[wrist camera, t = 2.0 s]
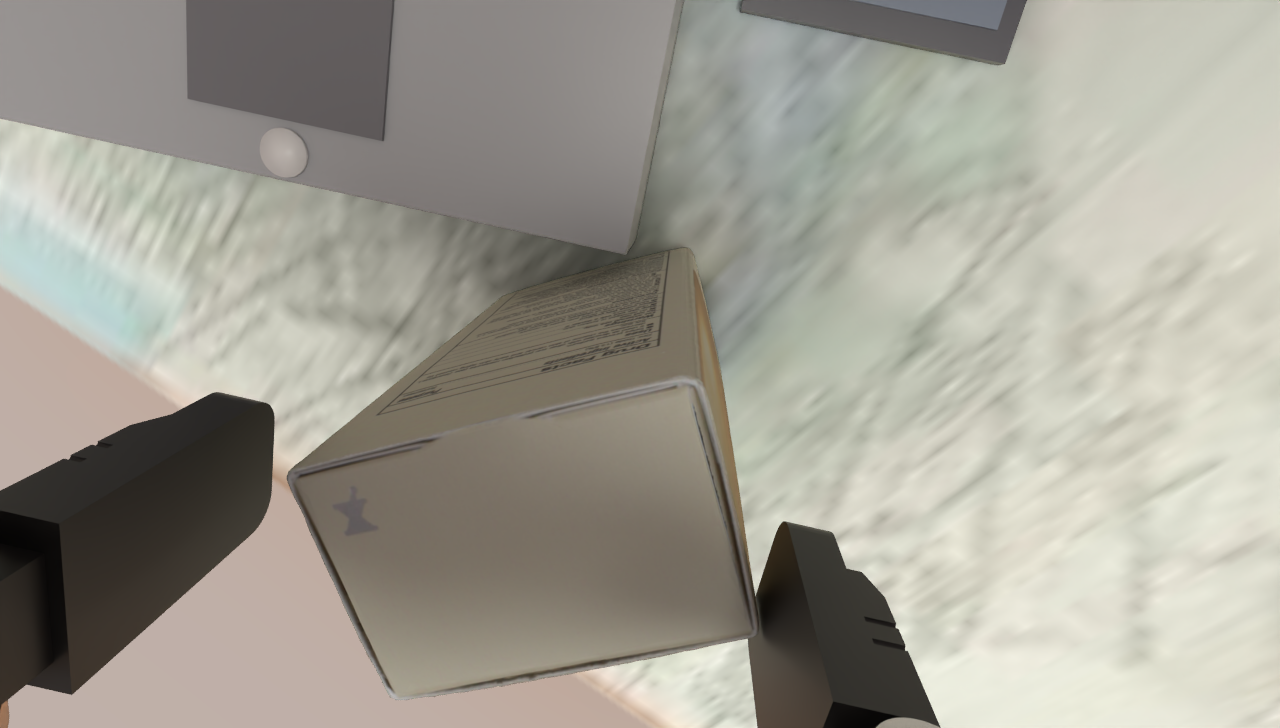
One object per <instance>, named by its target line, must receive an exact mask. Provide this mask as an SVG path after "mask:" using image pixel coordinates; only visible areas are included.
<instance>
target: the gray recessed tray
mask: <svg viewBox="0 0 1280 728" xmlns="http://www.w3.org/2000/svg"><path fill="white" fill-rule="evenodd" d="M683 3H684V0H0V119H5V120H10V121H14V122H19V123H23V124H28V125H33V126H37V127H42V128H46V129H51V130H55V131H60V132H65V133H69V134H74V135H78V136H83V137H88V138H92V139H97V140H101V141H106V142H110V143H115V144H120V145H124V146H129V147H133V148H138V149H143V150H147V151H152V152H156V153H161V154H165V155H170V156H175V157H179V158H184V159H188V160H193V161H198V162H202V163H207V164H211V165H216V166H220V167H225V168H230V169H234V170H239V171H243V172H248V173H253V174H257V175H262V176H266V177H271V178H275V179H280V180H285V181H289V182H294V183H298V184H303V185H308V186H312V187H317V188H321V189H326V190H330V191H335V192H340V193H344V194H349V195H353V196H358V197H363V198H367V199H372V200H376V201H381V202H385V203H390V204H395V205H399V206H404V207H408V208H413V209H418V210H422V211H427V212H431V213H436V214H440V215H445V216H450V217H454V218H459V219H463V220H468V221H473V222H477V223H482V224H486V225H491V226H495V227H500V228H505V229H509V230H514V231H518V232H523V233H528V234H532V235H537V236H541V237H546V238H551V239H555V240H560V241H564V242H569V243H573V244H578V245H583V246H587V247H592V248H596V249H601V250H606V251H610V252H615V253H619V254H624V255H626V254H627V252H628V251H629V249H630V248H631V246H632V245H633V243H634V242H635V240H636V237H637V232H638V227H639V222H640V217H641V212H642V207H643V202H644V197H645V193H646V188H647V183H648V178H649V173H650V168H651V163H652V158H653V153H654V148H655V143H656V138H657V133H658V128H659V123H660V118H661V113H662V108H663V103H664V98H665V93H666V88H667V83H668V78H669V73H670V68H671V63H672V58H673V53H674V48H675V43H676V38H677V33H678V28H679V23H680V18H681V13H682V8H683Z"/></svg>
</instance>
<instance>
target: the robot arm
mask: <svg viewBox="0 0 1280 728" xmlns="http://www.w3.org/2000/svg"><path fill="white" fill-rule="evenodd" d="M273 445H274V413H273V410H272V408H271V406H270V405H269V404H267V403H264V402H260V401H255V400H251V399H246V398H242V397H238V396H233V395H229V394H224V393H219V392H216V393H212V394H210V395H208V396H206V397H204V398H202V399H200V400H198V401H196V402H194V403H192V404H190V405H189V406H187V407H185V408H183V409H181V410H179V411H177V412H176V413H173V414H171V415H168V416H163V417H160V418H156V419H152V420H148V421H144V422H141V423H137V424H133V425H130V426H128V427H126V428H124V429H122V430H120V431H118V432H116V433H114V434H112V435H110V436H108V437H106V438H104V439H102V440H100V441H98V444H97V445H96V446H95V445H90V446H88V447H86V448H84V449H82V450H80V451H78V452H76V453H74V454H72V455H71V457H70V459H69V460H67V459H62V460H60V461H58V462H57V463H55V464H53V465H51V466H49V467H46V468H45V469H43V470H41V471H39V472H37V473H35V474H33V475H31V476H29V477H27V478H25V479H23V480H21V481H19V482H17V483H15V484H13V485H11V486H9V487H7V488H5V489H3V490H1V491H0V728H8V724H9V706H8V699H9V698H10V697H11V696H13V695H14V694H15V693H16V692H18V691H19V690H20V689H21V688H23V687H24V686H25V685H26V684H27V685H31V686H36V687H40V688H44V689H49V690H53V691H58V692H62V693H67V694H71V695H72V694H73V693H74V692H76V690H78V689H79V688H80V687H81V686H82V685H83V684H84V683H86V682H87V681H88V680H89V679H90V678H91V677H92V676H93V675H94V674H95V673H97V672H98V671H99V670H100V669H101V668H102V667H103V666H105V665H106V664H107V663H108V662H109V661H110V660H111V659H112V658H113V657H114V656H116V655H117V654H118V653H119V652H120V651H121V650H123V649H124V647H126V646H127V645H128V644H129V643H130V642H131V641H133V639H135V638H136V637H137V636H138V635H139V634H140V633H142V632H143V631H144V630H145V629H146V628H147V627H148V626H149V625H150V624H152V623H153V622H154V621H155V620H156V619H157V618H158V617H159V616H160V615H162V614H163V613H164V612H165V611H166V610H167V609H168V608H170V607H171V606H172V605H173V604H174V603H175V602H176V601H177V600H178V599H179V598H181V597H182V596H183V595H184V594H185V593H186V592H187V591H188V590H190V589H191V588H192V587H193V586H194V585H195V584H196V583H197V582H199V581H200V580H201V579H202V578H203V577H204V576H205V575H206V574H207V573H209V572H210V571H211V570H212V569H213V568H214V567H215V566H216V565H218V564H219V563H220V562H221V561H222V560H223V559H224V558H225V557H226V556H228V555H229V554H230V553H231V552H232V551H233V550H234V549H235V548H236V547H238V546H239V545H240V544H241V543H242V542H243V541H244V540H246V539H247V538H248V537H249V536H250V535H251V534H252V533H253V532H254V531H255V530H256V529H257V528H258V526H259V525H260V523H261V522H262V520H263V518H264V516H265V514H266V512H267V509H268V506H269V502H270V498H271V491H272V468H273ZM755 598H756V603H757V609H758V615H759V624H760V625H759V633H758V634H757V635H756V636H754V637H752V638H748V647H749V656H750V665H751V674H752V682H753V691H754V700H755V708H756V717H757V726H758V728H940V725H939V723H938V721H937V718H936V716H935V714H934V711H933V709H932V707H931V704H930V702H929V700H928V697H927V695H926V693H925V690H924V688H923V686H922V683H921V681H920V679H919V676H918V674H917V672H916V669H915V667H914V665H913V662H912V660H911V657H910V655H909V653H908V651H905V643H904V641H903V639H902V636H901V634H900V632H899V629H897V628H895V626H896V622H895V620H894V618H893V615H892V613H891V611H890V608H889V606H888V604H887V601H886V599H885V597H884V596H883V595H882V594H881V593H880V592H879V591H878V589H877V588H876V587H875V586H874V585H873V584H872V583H871V582H870V581H869V580H868V578H867V577H866V576H865V575H864V574H863V573H862V572H859V571H854V570H850V569H846V566H845V564H844V561H843V558H842V556H841V553H840V550H839V547H838V545H837V542H836V539H835V537H834V535H833V533H832V532H829V531H825V530H820V529H816V528H812V527H807V526H803V525H798V524H794V523H789V522H782V523H781V525H780V526H779V528H778V530H777V532H776V535H775V538H774V541H773V544H772V547H771V550H770V554H769V557H768V560H767V563H766V566H765V569H764V572H763V575H762V578H761V581H760V585H759V588H758V591H757V594H756V597H755Z"/></svg>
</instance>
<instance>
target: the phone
mask: <svg viewBox="0 0 1280 728" xmlns="http://www.w3.org/2000/svg"><path fill="white" fill-rule="evenodd" d="M1026 1H1027V0H743V1H742V6H741V10H740V12H742V13H747V14H752V15H757V16H762V17H767V18H771V19H776V20H781V21H786V22H791V23H796V24H800V25H805V26H810V27H815V28H820V29H825V30H829V31H834V32H839V33H844V34H849V35H854V36H858V37H863V38H868V39H873V40H878V41H883V42H888V43H892V44H897V45H902V46H907V47H912V48H917V49H921V50H926V51H931V52H936V53H941V54H946V55H950V56H955V57H960V58H965V59H970V60H975V61H979V62H984V63H989V64H994V65H1002V64H1005V62H1006V59H1007V56H1008V53H1009V50H1010V47H1011V44H1012V41H1013V39H1014V36H1015V33H1016V30H1017V27H1018V24H1019V21H1020V18H1021V15H1022V12H1023V10H1024V7H1025V4H1026Z"/></svg>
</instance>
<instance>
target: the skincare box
mask: <svg viewBox="0 0 1280 728" xmlns="http://www.w3.org/2000/svg"><path fill="white" fill-rule="evenodd" d="M287 481H288V484H289V486H290V489H291V491H292V493H293V495H294V498H295V500H296V502H297V503H298V505H299V507H300V509H301V511H302V513H303V515H304V517H305V520H306V523H307V525H308V528H309V531H310V533H311V535H312V537H313V539H314V541H315V543H316V545H317V548H318V550H319V552H320V554H321V557H322V559H323V561H324V564H325V566H326V568H327V570H328V572H329V574H330V576H331V578H332V580H333V582H334V585H335V587H336V589H337V591H338V594H339V596H340V598H341V600H342V603H343V605H344V607H345V609H346V611H347V614H348V616H349V618H350V620H351V622H352V624H353V626H354V628H355V630H356V632H357V635H358V637H359V639H360V641H361V643H362V644H363V646H364V649H365V651H366V653H367V655H368V657H369V658H370V660H371V662H372V663H373V665H374V667H375V668H376V671H377V673H378V674H379V676H380V678H381V680H382V683H383V685H384V687H385V689H386V691H387V693H388V695H389V696H390V697H391V698H393V699H395V700H409V699H414V698H422V697H435V696H439V695H446V694H452V693H459V692H469V691H473V690H480V689H487V688H492V687H497V686H501V687H502V686H506V685H511V684H516V683H523V682H529V681H534V680H538V679H543V678H550V677H556V676H562V675H568V674H573V673H578V672H583V671H588V670H593V669H599V668H604V667H609V666H614V665H620V664H625V663H631V662H634V661H639V660H646V659H651V658H656V657H662V656H666V655H670V654H675V653H679V652H683V651H690V650H695V649H699V648H703V647H708V646H712V645H717V644H722V643H727V642H732V641H737V640H742V639H748V638H752V637H754V636H756V635H757V634H758V633H759V625H760V624H759V615H758V609H757V603H756V598H755V592H754V587H753V580H752V574H751V568H750V561H749V555H748V548H747V541H746V534H745V527H744V521H743V514H742V507H741V500H740V493H739V486H738V480H737V474H736V467H735V461H734V454H733V447H732V441H731V435H730V428H729V421H728V415H727V408H726V401H725V395H724V388H723V381H722V375H721V369H720V365H719V360H718V355H717V351H716V346H715V341H714V337H713V332H712V328H711V323H710V319H709V314H708V310H707V305H706V301H705V297H704V293H703V289H702V285H701V281H700V277H699V273H698V269H697V265H696V262H695V258H694V254H693V253H692V251H691V250H690V249H688V248H685V247H684V248H679V249H674V250H669V251H665V252H660V253H656V254H652V255H647V256H644V257H640V258H636V259H632V260H627V261H623V262H619V263H615V264H611V265H608V266H604V267H600V268H597V269H593V270H589V271H586V272H582V273H578V274H574V275H571V276H567V277H564V278H560V279H557V280H553V281H550V282H546V283H543V284H540V285H536V286H533V287H529V288H526V289H523V290H520V291H516V292H513V293H510V294H507V295H505V296H502V297H501V298H500V299H499V300H497V301H496V302H495V303H494V304H493V305H491V306H490V307H489V308H488V309H486V310H485V311H484V312H483V313H482V314H480V315H479V316H478V317H477V318H476V319H474V320H473V321H472V322H471V323H470V324H468V325H467V326H466V327H465V328H463V329H462V330H461V331H460V332H458V333H457V334H456V335H455V336H453V337H452V338H451V339H450V340H449V341H447V342H446V343H445V344H444V345H443V346H441V347H440V348H439V349H438V350H436V351H435V352H434V353H433V354H432V355H430V356H429V357H428V358H427V359H426V360H424V361H423V362H422V363H421V364H419V365H418V366H417V367H416V368H414V369H413V370H412V371H411V372H409V373H408V374H407V375H406V376H404V377H403V378H402V379H401V380H399V381H398V382H397V383H396V384H394V385H393V386H392V387H391V388H389V389H388V390H387V391H386V392H385V393H384V394H382V395H381V396H380V397H379V398H378V399H376V400H375V401H374V402H372V403H371V404H370V405H369V406H367V407H366V408H365V409H364V410H363V411H361V412H360V413H359V414H358V415H357V416H356V417H354V418H353V419H352V420H351V421H350V422H348V423H347V424H346V425H345V426H343V427H342V428H341V429H340V430H338V431H337V432H336V433H335V434H333V435H332V436H331V437H330V438H328V439H327V440H326V441H325V442H324V443H322V444H321V445H320V446H319V447H318V448H316V449H315V450H314V451H313V452H312V453H311V454H309V455H308V456H307V457H306V458H305V459H303V460H302V461H301V462H299V463H298V464H296V465H295V466H294V467H293V468H292V469H291V470H290V471H289V472H288V475H287Z"/></svg>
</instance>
